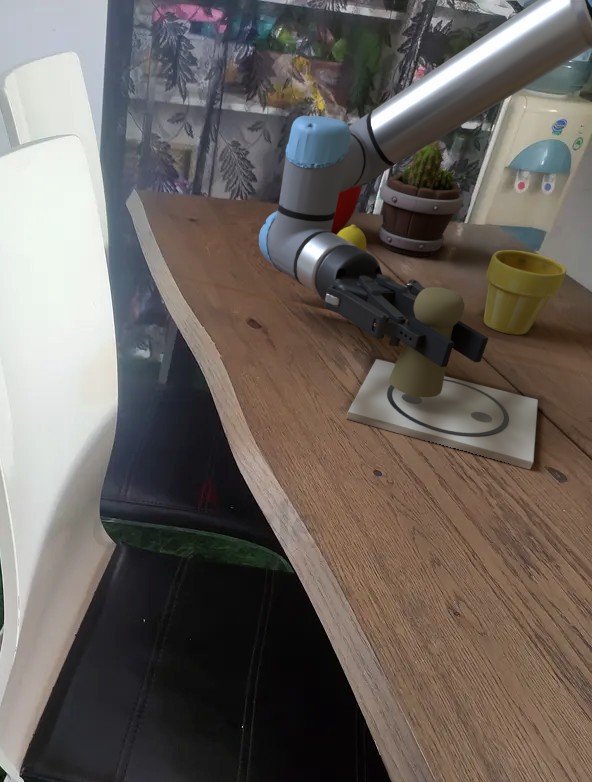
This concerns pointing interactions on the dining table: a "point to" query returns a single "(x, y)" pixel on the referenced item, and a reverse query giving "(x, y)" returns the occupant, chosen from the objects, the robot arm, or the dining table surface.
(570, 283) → the dining table surface
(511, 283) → the flower pot
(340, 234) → the lemon
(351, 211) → the ceramic cup
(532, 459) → the drawing sheet
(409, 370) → the olive pawn
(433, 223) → the flowerpot
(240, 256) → the dining table surface
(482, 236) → the dining table surface
